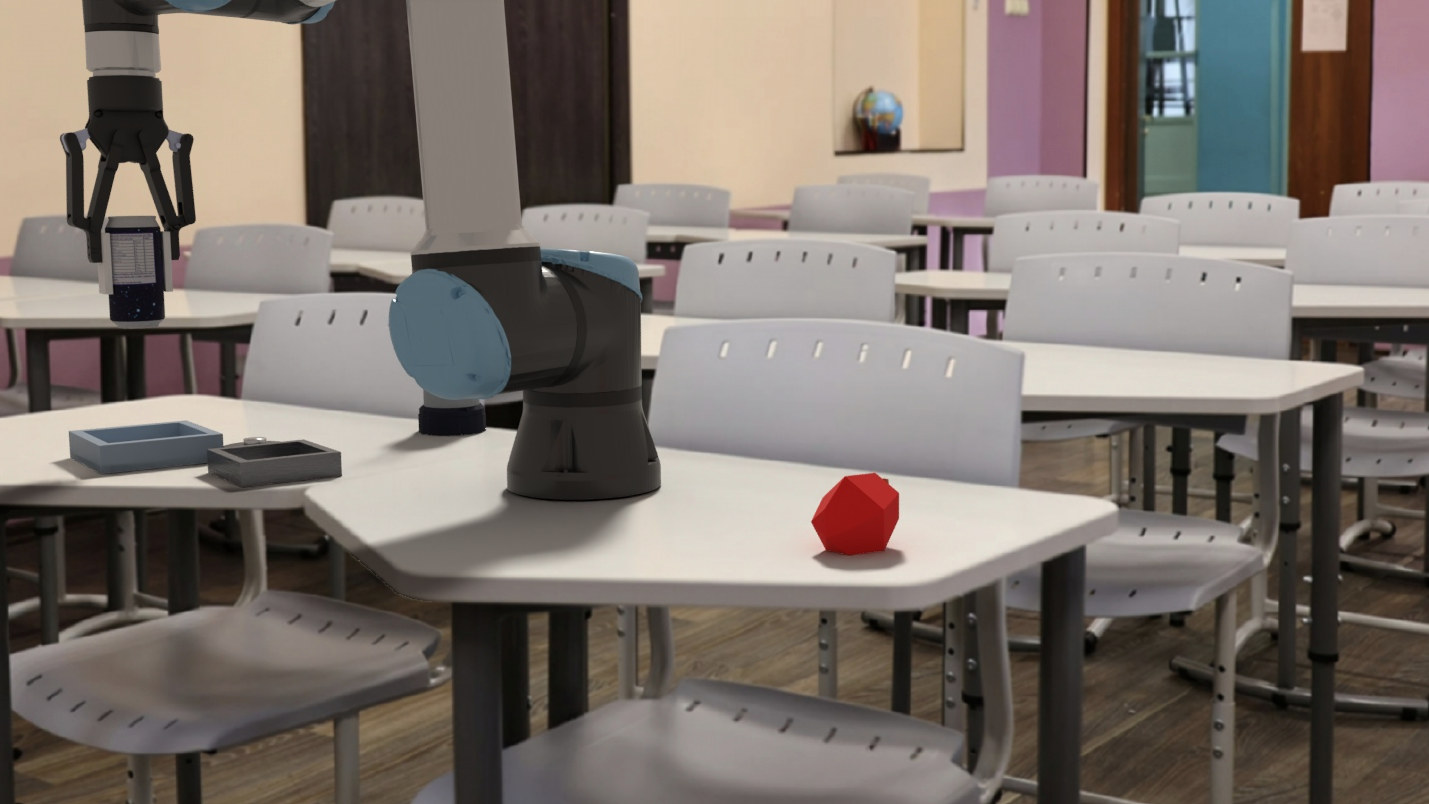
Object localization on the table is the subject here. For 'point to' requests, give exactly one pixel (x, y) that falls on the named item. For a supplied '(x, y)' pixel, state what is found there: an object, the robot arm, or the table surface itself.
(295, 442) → the grey flat rectangular frame
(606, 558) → the table surface
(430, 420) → the humidifier
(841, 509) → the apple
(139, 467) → the tray
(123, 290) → the beverage can
